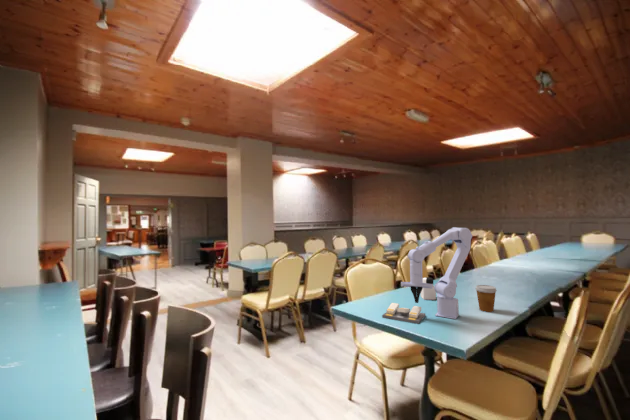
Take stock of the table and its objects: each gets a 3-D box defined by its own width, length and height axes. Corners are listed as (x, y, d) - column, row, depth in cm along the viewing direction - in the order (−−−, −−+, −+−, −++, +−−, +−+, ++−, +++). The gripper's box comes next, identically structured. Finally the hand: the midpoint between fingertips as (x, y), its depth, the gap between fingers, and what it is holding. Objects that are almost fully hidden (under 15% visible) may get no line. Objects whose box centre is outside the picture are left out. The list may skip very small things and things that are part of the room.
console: (425, 315, 151) (425, 311, 151) (418, 323, 141) (417, 319, 141) (391, 310, 161) (391, 306, 161) (382, 317, 150) (382, 313, 150)
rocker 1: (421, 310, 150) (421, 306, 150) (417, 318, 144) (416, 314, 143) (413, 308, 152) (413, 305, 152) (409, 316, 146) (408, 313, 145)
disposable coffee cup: (499, 309, 159) (498, 286, 159) (494, 314, 152) (493, 289, 152) (479, 306, 165) (478, 283, 166) (473, 310, 159) (472, 287, 159)
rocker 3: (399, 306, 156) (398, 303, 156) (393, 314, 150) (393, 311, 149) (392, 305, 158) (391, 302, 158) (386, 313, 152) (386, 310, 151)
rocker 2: (409, 312, 153) (410, 308, 153) (404, 312, 146) (405, 308, 147) (402, 311, 155) (402, 307, 155) (397, 311, 148) (397, 307, 149)
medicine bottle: (432, 296, 187) (432, 276, 187) (436, 299, 180) (435, 279, 180) (420, 296, 187) (420, 276, 188) (423, 299, 180) (423, 279, 181)
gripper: (432, 273, 151) (433, 301, 151) (401, 271, 157) (402, 298, 157) (431, 276, 145) (432, 305, 145) (400, 274, 151) (400, 302, 150)
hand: (416, 302), depth 150 cm, fingers closed
